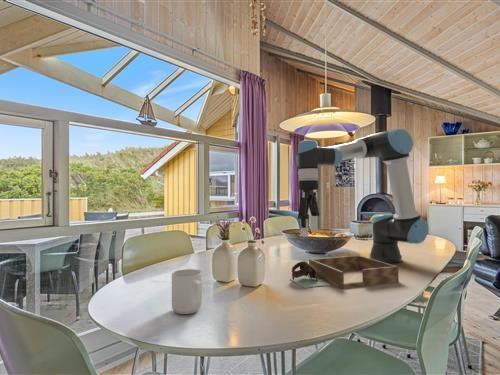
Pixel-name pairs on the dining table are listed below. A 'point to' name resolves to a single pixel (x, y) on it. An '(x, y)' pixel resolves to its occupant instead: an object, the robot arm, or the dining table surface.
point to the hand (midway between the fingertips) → (309, 234)
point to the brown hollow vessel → (304, 270)
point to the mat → (309, 282)
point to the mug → (186, 291)
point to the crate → (370, 268)
